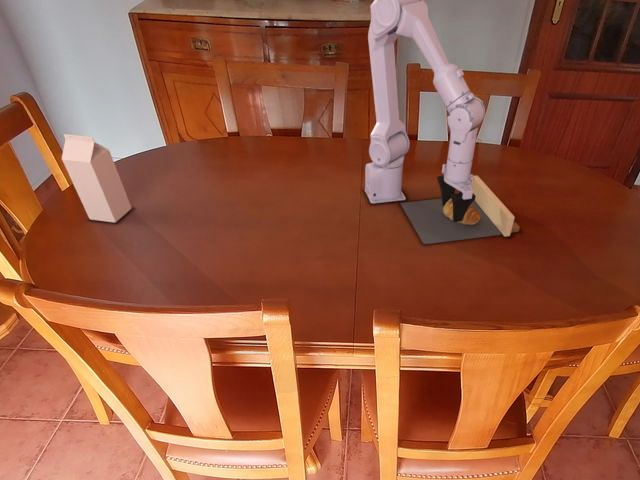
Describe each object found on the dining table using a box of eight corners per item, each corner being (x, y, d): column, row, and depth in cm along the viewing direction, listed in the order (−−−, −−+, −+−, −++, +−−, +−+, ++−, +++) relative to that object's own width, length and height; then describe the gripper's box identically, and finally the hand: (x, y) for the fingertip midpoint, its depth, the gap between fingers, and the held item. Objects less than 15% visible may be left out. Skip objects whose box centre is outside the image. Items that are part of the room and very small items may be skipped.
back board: (504, 236, 110) (508, 217, 107) (469, 193, 125) (472, 175, 122) (521, 234, 111) (526, 215, 107) (484, 192, 126) (487, 174, 122)
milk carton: (115, 223, 112) (82, 143, 99) (89, 220, 113) (52, 140, 100) (132, 209, 117) (102, 131, 104) (106, 206, 118) (73, 128, 105)
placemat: (423, 244, 107) (424, 244, 107) (399, 203, 121) (399, 202, 121) (501, 234, 111) (501, 234, 111) (469, 195, 124) (469, 195, 124)
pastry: (485, 220, 115) (488, 205, 113) (469, 230, 112) (471, 215, 109) (455, 206, 120) (457, 192, 117) (438, 215, 117) (440, 201, 114)
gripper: (489, 170, 101) (478, 225, 111) (464, 144, 111) (456, 197, 121) (459, 173, 100) (450, 229, 110) (436, 146, 110) (430, 200, 119)
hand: (451, 212), depth 115 cm, fingers open, 7 cm apart
